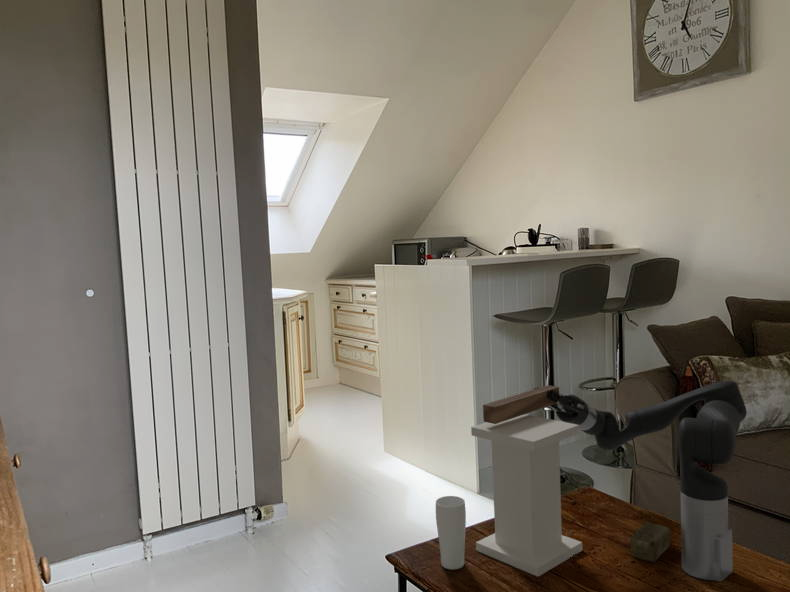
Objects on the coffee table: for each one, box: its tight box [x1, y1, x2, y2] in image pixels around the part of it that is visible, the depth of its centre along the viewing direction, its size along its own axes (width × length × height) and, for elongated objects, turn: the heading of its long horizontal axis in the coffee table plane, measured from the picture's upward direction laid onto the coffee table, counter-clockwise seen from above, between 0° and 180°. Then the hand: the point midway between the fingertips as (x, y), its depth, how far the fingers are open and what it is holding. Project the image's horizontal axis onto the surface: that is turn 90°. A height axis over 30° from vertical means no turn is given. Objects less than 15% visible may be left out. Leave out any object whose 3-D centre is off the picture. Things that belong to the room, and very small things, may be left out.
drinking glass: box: [435, 495, 467, 571], centre depth 149 cm, size 7×7×15 cm
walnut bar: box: [482, 384, 560, 424], centre depth 160 cm, size 4×25×4 cm, turn 131°
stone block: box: [629, 521, 671, 563], centre depth 152 cm, size 6×12×5 cm, turn 140°
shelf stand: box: [470, 413, 583, 578], centre depth 154 cm, size 18×17×30 cm
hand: (541, 391), depth 165 cm, fingers closed on walnut bar, 3 cm apart
